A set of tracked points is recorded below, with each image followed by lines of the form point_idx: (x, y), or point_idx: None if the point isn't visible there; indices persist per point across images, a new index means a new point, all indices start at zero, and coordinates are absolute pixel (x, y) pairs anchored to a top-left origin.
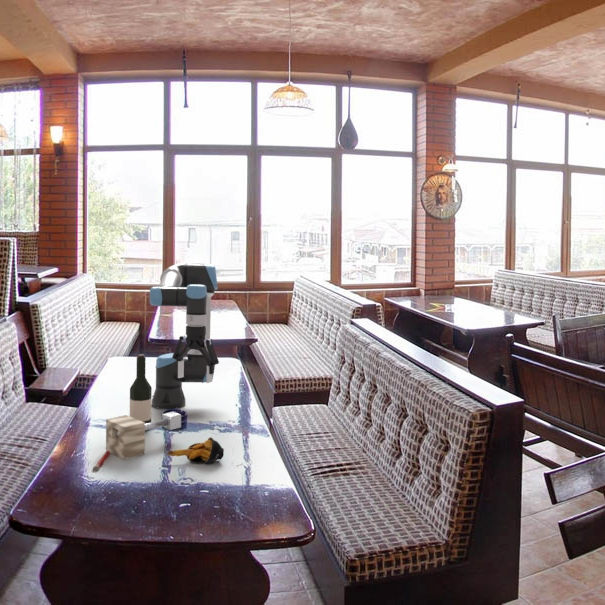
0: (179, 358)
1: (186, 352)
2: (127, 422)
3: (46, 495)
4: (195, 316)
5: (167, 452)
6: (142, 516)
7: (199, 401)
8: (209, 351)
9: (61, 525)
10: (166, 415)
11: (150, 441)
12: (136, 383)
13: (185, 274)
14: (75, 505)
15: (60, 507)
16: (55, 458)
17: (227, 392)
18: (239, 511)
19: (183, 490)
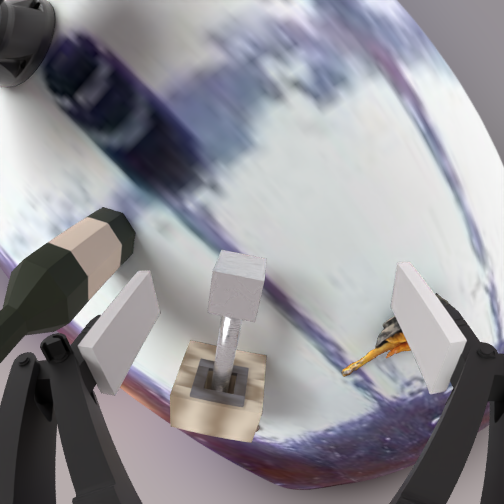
0: (100, 413)
1: (107, 449)
2: (226, 425)
3: (270, 470)
4: None
5: (344, 376)
6: (403, 450)
7: None
8: (494, 500)
9: (338, 481)
10: (230, 316)
11: (209, 293)
12: (37, 333)
13: None
14: (320, 469)
15: (309, 474)
16: (163, 417)
17: None
18: None
19: (422, 404)
